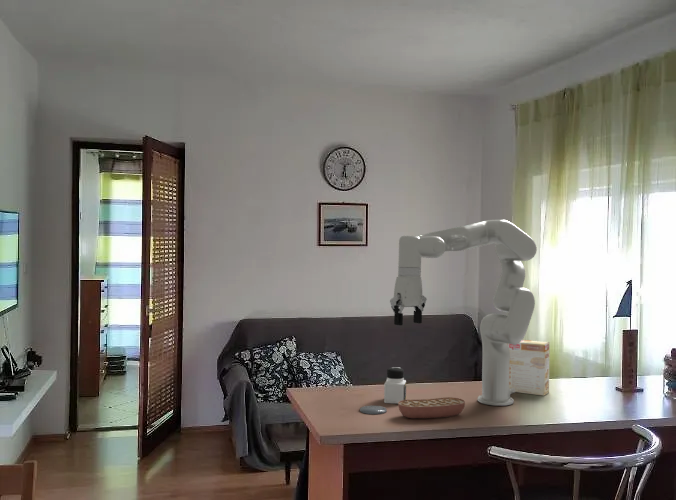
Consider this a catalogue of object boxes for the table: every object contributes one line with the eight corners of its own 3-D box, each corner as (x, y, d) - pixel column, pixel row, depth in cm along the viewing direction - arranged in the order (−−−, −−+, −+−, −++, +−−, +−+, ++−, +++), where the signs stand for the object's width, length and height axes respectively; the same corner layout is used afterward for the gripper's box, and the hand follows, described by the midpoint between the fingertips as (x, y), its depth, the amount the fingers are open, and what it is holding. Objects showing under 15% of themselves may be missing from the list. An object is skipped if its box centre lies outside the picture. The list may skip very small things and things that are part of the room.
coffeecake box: (549, 392, 249) (550, 341, 249) (544, 396, 243) (545, 344, 243) (510, 387, 257) (511, 338, 257) (505, 391, 251) (505, 340, 251)
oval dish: (457, 411, 223) (457, 396, 223) (470, 419, 214) (470, 403, 213) (394, 415, 218) (394, 400, 218) (404, 423, 208) (404, 408, 208)
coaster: (373, 405, 229) (373, 404, 229) (392, 411, 222) (392, 409, 222) (354, 410, 223) (354, 408, 223) (373, 415, 216) (373, 414, 216)
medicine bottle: (404, 404, 231) (404, 370, 231) (384, 403, 232) (384, 369, 232) (406, 399, 238) (406, 366, 238) (386, 398, 239) (386, 365, 239)
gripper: (417, 271, 226) (416, 321, 226) (383, 272, 214) (382, 324, 215) (434, 273, 221) (433, 323, 221) (400, 273, 209) (399, 327, 209)
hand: (408, 323), depth 218 cm, fingers open, 9 cm apart
